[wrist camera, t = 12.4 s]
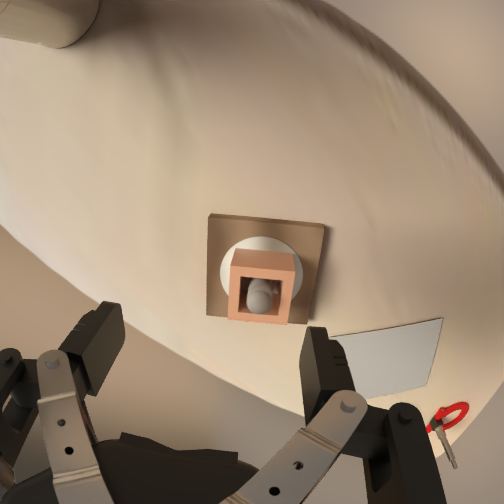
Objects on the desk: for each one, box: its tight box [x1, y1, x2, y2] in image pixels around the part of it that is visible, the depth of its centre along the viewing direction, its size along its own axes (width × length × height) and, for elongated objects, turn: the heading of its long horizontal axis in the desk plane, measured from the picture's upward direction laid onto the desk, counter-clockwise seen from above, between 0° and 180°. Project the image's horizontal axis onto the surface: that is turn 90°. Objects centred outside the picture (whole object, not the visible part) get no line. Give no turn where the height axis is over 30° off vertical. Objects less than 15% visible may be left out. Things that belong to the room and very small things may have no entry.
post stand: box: [206, 214, 325, 324], centre depth 32 cm, size 12×12×8 cm
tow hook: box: [426, 402, 469, 469], centre depth 40 cm, size 8×13×9 cm
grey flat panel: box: [329, 318, 443, 399], centre depth 38 cm, size 23×25×1 cm
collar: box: [228, 248, 295, 325], centre depth 32 cm, size 6×6×4 cm
